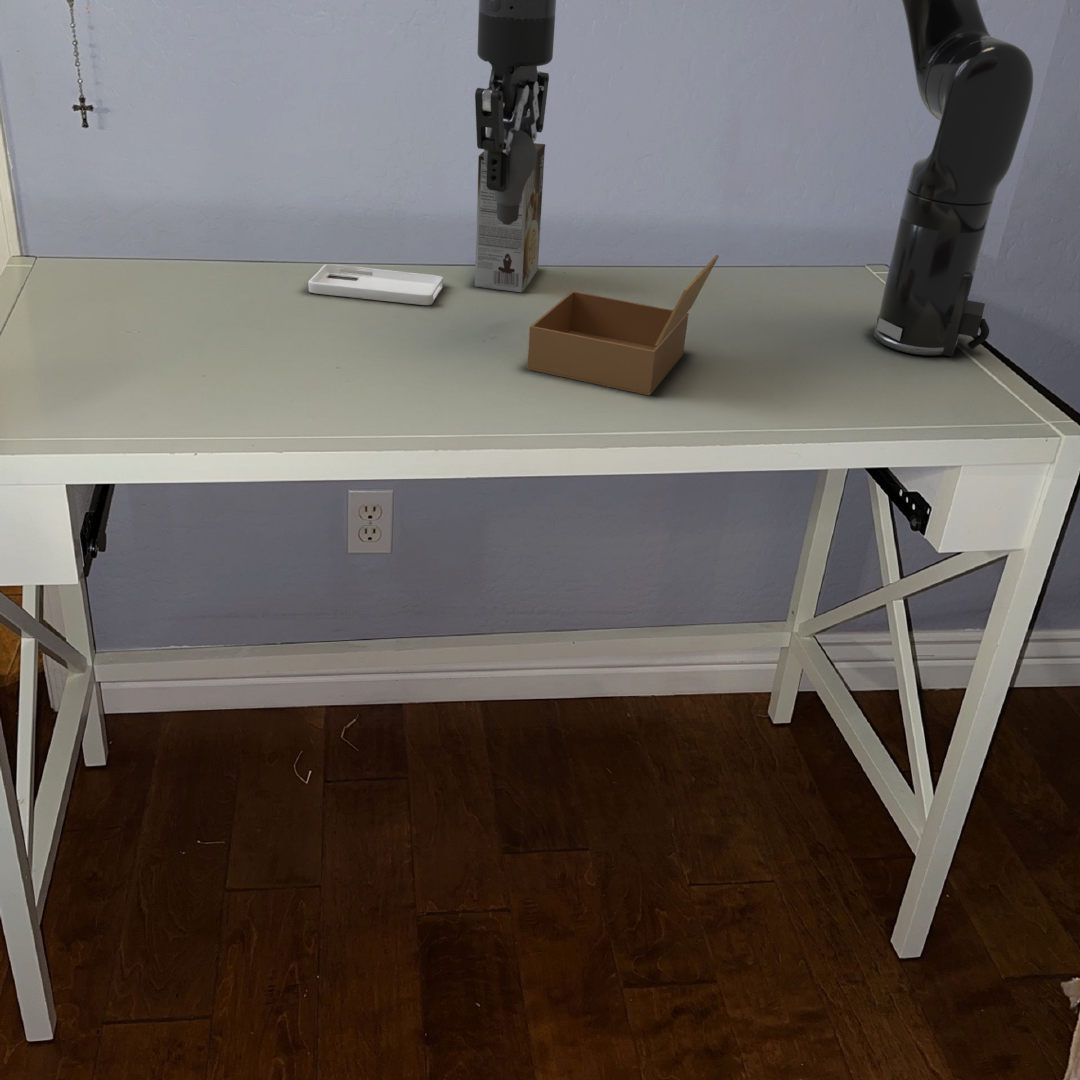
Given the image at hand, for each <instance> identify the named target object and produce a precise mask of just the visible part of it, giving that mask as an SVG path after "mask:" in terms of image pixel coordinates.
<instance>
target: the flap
mask: <svg viewBox="0 0 1080 1080" xmlns="http://www.w3.org/2000/svg"><path fill="white" fill-rule="evenodd" d="M719 257H720V255H718V254H716V255H715V256H714V257H713V258H712V259H711V260H710V261H709V262H708V263H707V264H706V265H705V266H704V268H702V269H701V271H700V272H699V273H698V274H697V275H696V276H695V277H694V278H693V279H692V280H691V281H690V283H689V284H688V285H687V286H686V287H685V288H684V289H683V291H682V293H681V295H680V296H679V299H678V300H677V302H676V304H675V306H674V308H673V309H672V310H673V312H672V314H671V316H670V318H669V320H668V321H667V323H666V325H665V327H664V329H663V331H662V333H661V335H660V337H659V338H658V340H657V342H656V344H655V346H657V347H658V345H659V344H660V343H661V342H662V341H663V340H664V339H665V337H666V336H667V335H668V334H669V333H670V332H671V331H672V329H673V328H674V327H675V326H676V325H677V324H678V323H679V321H680V320H681V319H682V318H683V317H684V316H685V314H686V313H689V311H690V310H691V309H692V307H693V306H694V303H695V302H696V299H697V298H698V296H699V294H700V292H701V290H702V288H703V287H704V285H705V283H706V281H707V279H708V277H709V276H710V274H711V272H712V270H713V268H714V266H715V265H716V263H717V261H718V259H719Z"/></svg>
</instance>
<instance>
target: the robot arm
mask: <svg viewBox="0 0 1080 1080" xmlns="http://www.w3.org/2000/svg"><path fill="white" fill-rule="evenodd" d="M901 3H902V7H903V11H904V15H905V19H906V24H907V30H908V37H909V42H910V48H911V53H912V61H913V67H914V73H915V78H916V79H915V80H916V85H917V88H918V89H917V90H918V93H919V96H920V100H921V101H922V104H923V105H924V107H925V109H927V111H928V112H929V113H930V114H931V115H932V116H933V117H934V118H935V119H937V120H939V121H940V122H939V125H938V128H937V129H938V130H937V133H936V137H935V140H934V142H933V145H932V149H931V152H930V153H929V155H928V156H927V157H925V158H924V157H923V158H922V159H919V160H917V161H916V162H915V163H914V164H913V165H912V167H911V169H910V172H909V173H910V174H909V178H908V181H907V186H906V191H905V195H904V200H903V204H902V210H901V213H900V218H899V222H898V227H897V231H896V237H895V241H894V245H893V250H892V254H891V259H890V263H889V268H888V273H887V276H886V280H885V281H886V282H885V286H884V289H883V295H882V299H881V303H880V309H879V313H878V316H877V319H876V320H877V321H876V324H875V326H874V330H873V331H874V332H873V337H874V338H875V339H876V340H877V341H878V342H879V343H880V344H882V345H883V346H886V347H887V348H890V349H893V350H895V351H899V352H902V353H906V354H911V355H916V356H917V355H919V356H944V357H945V356H947V357H954V354H955V350H956V348H957V345H958V340H959V335H962V336H966V337H972V338H973V339H971V340H970V341H968V342H967V344H966V345H967V346H968V347H969V349H970V350H973V349H975V348H977V347H978V346H980V345H981V344H983V343H984V342H985V341H986V340H987V339H988V337H989V334H990V327H989V325H988V323H987V321H986V319H985V318H983V315H984V312H985V311H984V310H985V306H986V303H984V302H980V301H979V302H978V301H974V300H969V295H970V292H971V288H972V284H973V281H974V278H975V273H976V270H977V269H976V268H977V265H978V261H979V258H980V257H979V256H980V253H981V249H982V245H983V241H984V237H985V233H986V229H987V225H988V222H989V218H990V215H991V210H992V207H993V203H994V199H995V197H996V192H997V190H998V188H999V185H1000V184H1001V183H1002V182H1003V180H1004V178H1005V177H1006V175H1007V174H1008V172H1009V170H1010V168H1011V166H1012V163H1013V159H1014V156H1015V153H1016V151H1017V147H1018V144H1019V141H1020V138H1021V134H1022V132H1023V128H1024V125H1025V122H1026V119H1027V115H1028V112H1029V108H1030V104H1031V101H1032V96H1033V95H1032V94H1033V89H1034V70H1033V69H1034V68H1033V65H1032V62H1031V60H1030V58H1029V56H1028V55H1027V53H1026V52H1025V51H1023V49H1021V48H1020V47H1019V46H1017V45H1016V44H1013V43H1011V42H1007V41H1004V40H1001V39H999V38H995V37H994V36H991V34H990V33H989V31H988V27H987V26H986V23H985V21H984V17H983V14H982V11H981V8H980V5H979V2H978V0H901ZM556 9H557V0H478V22H477V24H478V25H477V56H478V58H479V59H480V60H482V61H483V62H488V63H489V64H490V65H491V69H490V75H489V76H490V77H489V80H488V81H489V82H488V87H487V88H483V87H477V88H476V89H475V93H474V101H475V103H474V105H475V126H476V146H477V149H479V150H483V151H484V150H485V152H488V156H487V184H486V185H487V188H488V189H489V190H493V191H499V192H504V191H506V190H507V189H508V187H509V169H510V154H509V153H510V150H511V145H512V140H513V135H514V133H516V132H518V131H519V129H520V130H522V131H524V132H525V133H527V134H528V135H529V136H530V138H531V139H532V140H533V142H534V143H536V140H537V137H538V133H542V132H543V129H544V125H545V124H544V123H545V114H546V106H547V99H548V98H547V97H548V91H549V82H550V81H549V80H550V74H549V72H543V71H538V67H540V66H541V67H542V66H546V65H547V64H549V63H551V61H552V60H553V57H554V43H555V42H554V41H555V25H556ZM504 131H505V135H504ZM530 176H531V175H530ZM979 330H980V333H979ZM978 333H979V334H978Z"/></svg>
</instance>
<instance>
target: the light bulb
mask: <svg viewBox="0 0 1080 1080" xmlns="http://www.w3.org/2000/svg"><path fill="white" fill-rule="evenodd" d="M504 135H505V131H504ZM534 143H535V142H533V140H532V139H531V138H530V136H529V135H528V134H527V133H525V132H524V131H522V130H520V129H519V131H518V132H516V133H514V135H513V140H512V145H511V150H510V153H509V154H510V169H509V187H508V189H507V190H506V191H504V192H499V191H495V201H496V202H497V218H498V220H500V221H502V222H503V224H505V225H510V224H512V222H515V221H517V219H518V214H519V204H520V203H521V201H522V194H523V190H524V187H525V184H526V182H527V180H528V178H529V177H530V175H531V173H532V171H533V169H534V167H535V165H536V161H537V151H536V147H535V144H534ZM483 152H484V162H485V165H486V168H487V156H488V152H485V150H484V149H483Z"/></svg>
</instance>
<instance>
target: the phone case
mask: <svg viewBox="0 0 1080 1080" xmlns="http://www.w3.org/2000/svg"><path fill="white" fill-rule="evenodd" d="M341 270H347V271H348V270H349V271H358V272H367V273H371V274H366V273H365V274H363V273H356V272H355V273H354V272H344V271H341ZM330 276H331V277H339V278H331V277H330ZM340 277H341V279H340ZM342 278H349V279H342ZM350 279H357V280H350ZM307 284H308V286H307V287H308V292H309V293H311V294H316V295H319V294H320V295H327V296H336V297H345V298H355V299H361V300H362V299H364V300H373V301H383V302H391V303H398V304H399V303H401V304H410V305H418V306H419V305H420V306H431V305H433V304H434V301H435V300H436V299H437V297H438V295H439V294H440V292H442V289H443V288H444V277H443V276H441V275H437V274H429V273H428V274H427V273H417V272H409V271H400V270H390V269H380V268H372V267H371V268H370V267H361V266H352V265H342V264H334V263H325V264H323V266H321V268H319V269H318V271H317V272H316V273H315V274H314V275H313V276H312V277H311V278H310V279H309V280H308V281H307Z"/></svg>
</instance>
